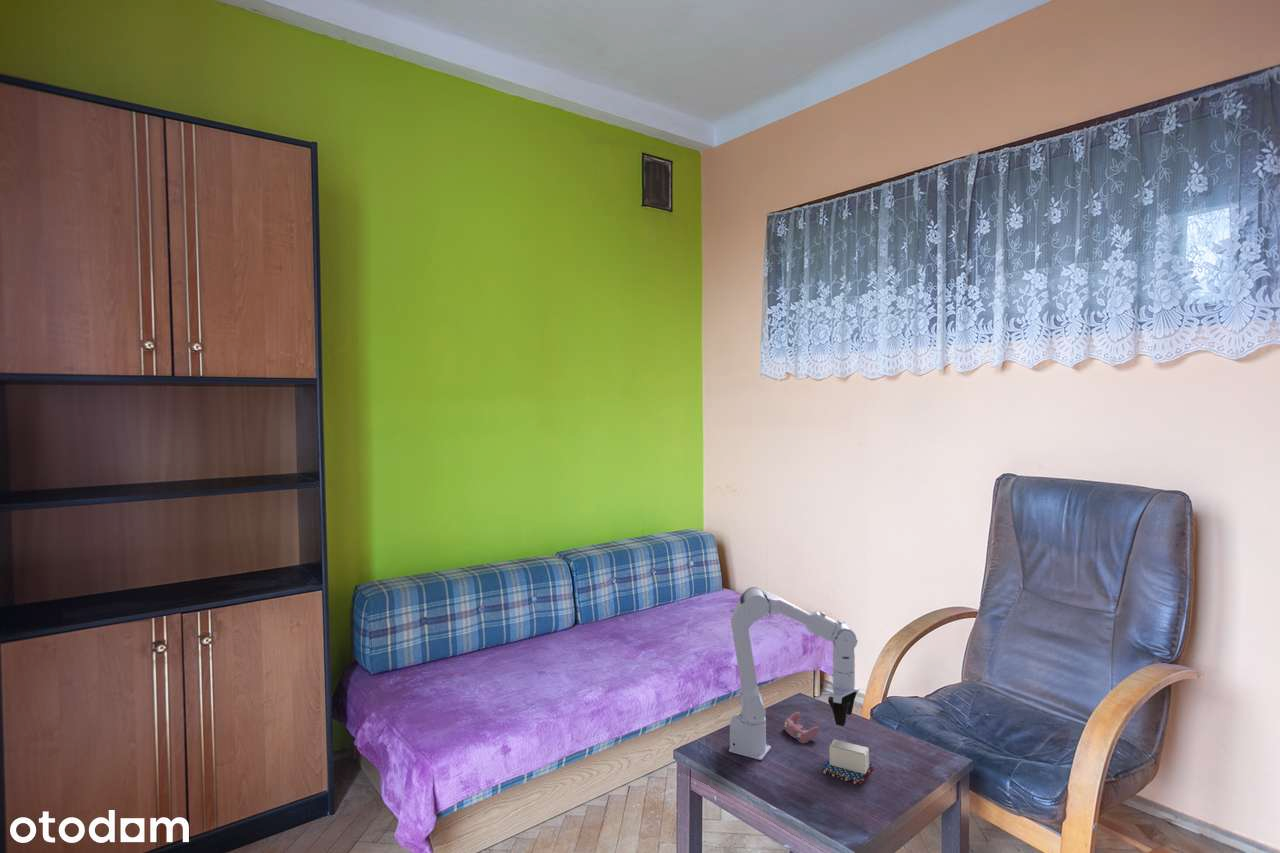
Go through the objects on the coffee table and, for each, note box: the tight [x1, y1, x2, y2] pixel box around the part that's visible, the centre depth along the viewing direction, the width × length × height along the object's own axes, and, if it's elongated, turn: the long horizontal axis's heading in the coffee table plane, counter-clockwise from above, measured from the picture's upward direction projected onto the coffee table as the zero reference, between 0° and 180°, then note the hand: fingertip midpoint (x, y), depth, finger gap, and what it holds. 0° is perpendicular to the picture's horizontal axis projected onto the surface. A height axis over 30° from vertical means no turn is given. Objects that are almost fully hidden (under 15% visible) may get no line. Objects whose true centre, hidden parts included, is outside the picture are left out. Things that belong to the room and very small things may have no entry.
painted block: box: [829, 739, 870, 774], centre depth 172 cm, size 4×9×5 cm, turn 58°
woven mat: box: [821, 758, 874, 785], centre depth 172 cm, size 10×11×2 cm
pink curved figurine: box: [783, 711, 820, 744], centre depth 191 cm, size 10×5×7 cm
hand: (843, 719), depth 181 cm, fingers open, 7 cm apart
